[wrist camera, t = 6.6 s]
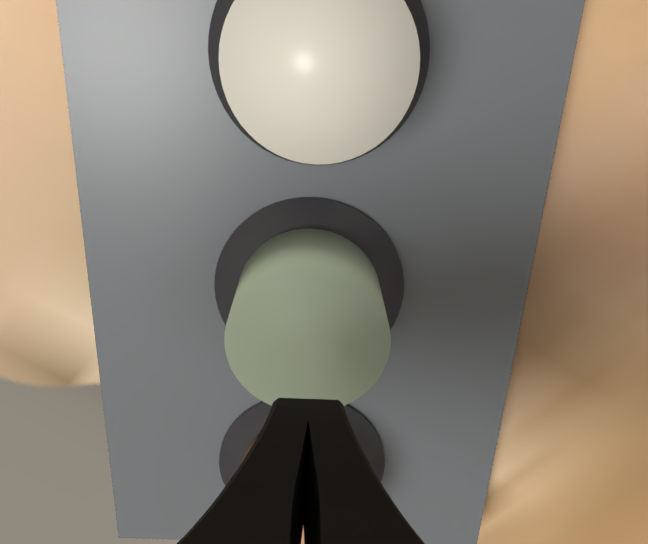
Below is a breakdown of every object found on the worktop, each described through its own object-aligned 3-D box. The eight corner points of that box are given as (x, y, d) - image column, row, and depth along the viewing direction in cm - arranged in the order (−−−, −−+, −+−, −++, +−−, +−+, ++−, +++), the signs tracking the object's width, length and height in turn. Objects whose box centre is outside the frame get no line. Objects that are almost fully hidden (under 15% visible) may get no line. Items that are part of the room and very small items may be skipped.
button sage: (385, 231, 18) (398, 271, 15) (373, 359, 19) (383, 416, 17) (237, 225, 18) (222, 264, 15) (238, 354, 19) (225, 410, 17)
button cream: (410, -32, 15) (431, -44, 12) (393, 143, 17) (409, 168, 14) (235, -42, 15) (216, -55, 12) (236, 136, 17) (220, 160, 14)
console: (573, -88, 17) (608, -102, 15) (464, 509, 25) (477, 551, 23) (71, -116, 16) (37, -135, 14) (133, 499, 25) (117, 542, 23)
